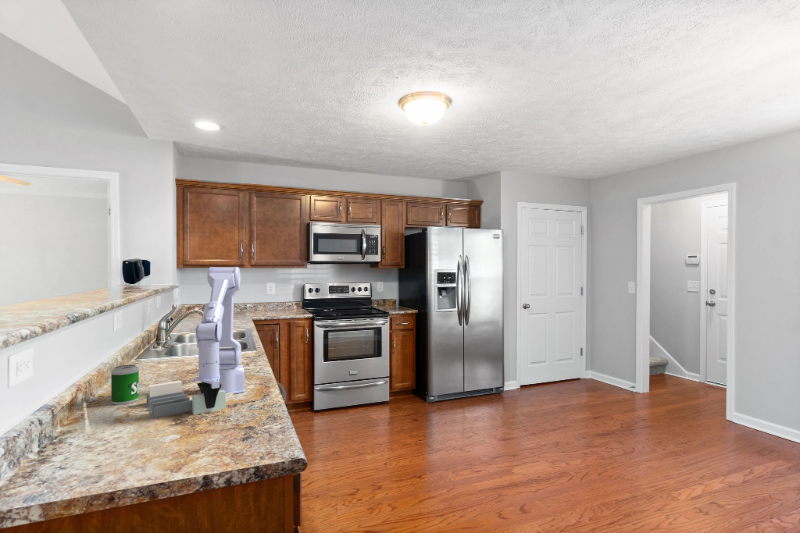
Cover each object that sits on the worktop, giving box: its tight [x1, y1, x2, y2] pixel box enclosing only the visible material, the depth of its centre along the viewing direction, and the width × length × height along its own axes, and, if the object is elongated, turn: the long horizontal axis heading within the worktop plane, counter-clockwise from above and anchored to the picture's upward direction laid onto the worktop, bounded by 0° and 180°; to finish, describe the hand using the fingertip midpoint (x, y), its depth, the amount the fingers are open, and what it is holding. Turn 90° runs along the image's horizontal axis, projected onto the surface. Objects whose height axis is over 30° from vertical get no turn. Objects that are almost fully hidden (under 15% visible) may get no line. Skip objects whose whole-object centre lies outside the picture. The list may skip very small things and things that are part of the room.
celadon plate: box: [191, 390, 227, 416], centre depth 128 cm, size 9×2×6 cm, turn 128°
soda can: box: [110, 364, 140, 406], centre depth 137 cm, size 8×8×12 cm
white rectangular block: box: [148, 380, 183, 397], centre depth 136 cm, size 9×2×6 cm, turn 128°
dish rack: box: [144, 390, 192, 419], centre depth 131 cm, size 11×16×4 cm
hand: (209, 406), depth 128 cm, fingers closed on celadon plate, 2 cm apart
